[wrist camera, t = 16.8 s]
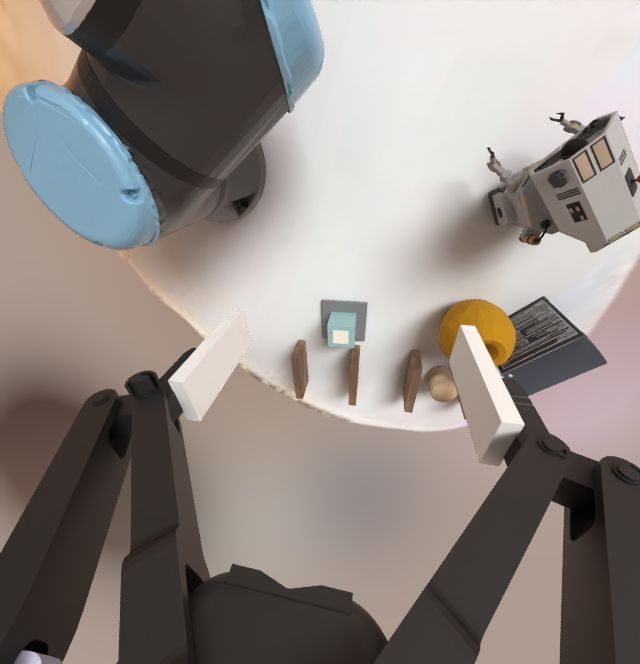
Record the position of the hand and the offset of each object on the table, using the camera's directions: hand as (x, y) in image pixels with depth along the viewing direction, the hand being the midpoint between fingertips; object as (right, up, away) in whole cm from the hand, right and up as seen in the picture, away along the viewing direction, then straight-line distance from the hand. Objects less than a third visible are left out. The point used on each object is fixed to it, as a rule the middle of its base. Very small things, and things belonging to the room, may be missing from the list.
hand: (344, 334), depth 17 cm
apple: (+22, +3, +28) cm, 36 cm away
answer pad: (+3, +2, +33) cm, 33 cm away
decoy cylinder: (+22, -8, +36) cm, 43 cm away
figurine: (+24, +20, +17) cm, 35 cm away
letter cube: (+3, +2, +33) cm, 33 cm away
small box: (+31, +1, +28) cm, 42 cm away
